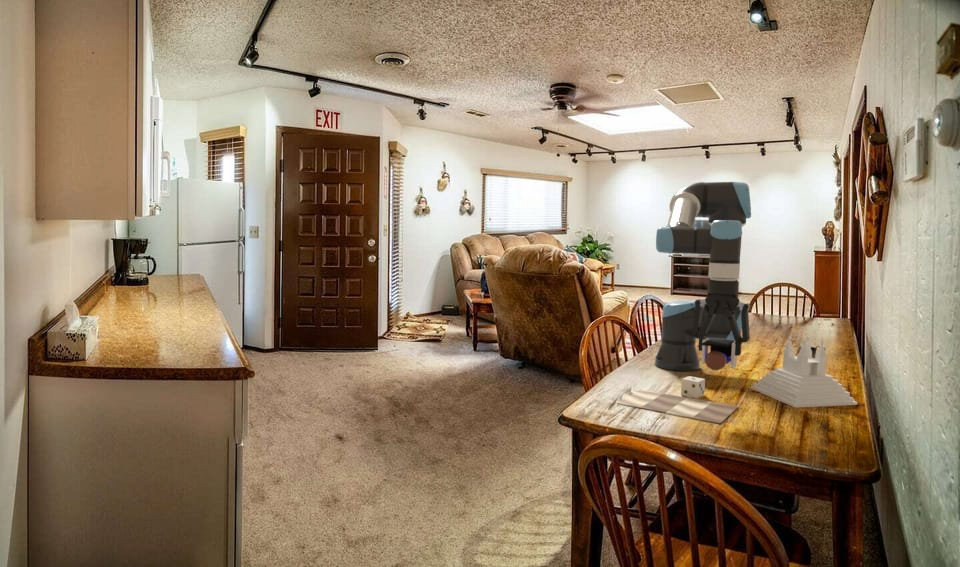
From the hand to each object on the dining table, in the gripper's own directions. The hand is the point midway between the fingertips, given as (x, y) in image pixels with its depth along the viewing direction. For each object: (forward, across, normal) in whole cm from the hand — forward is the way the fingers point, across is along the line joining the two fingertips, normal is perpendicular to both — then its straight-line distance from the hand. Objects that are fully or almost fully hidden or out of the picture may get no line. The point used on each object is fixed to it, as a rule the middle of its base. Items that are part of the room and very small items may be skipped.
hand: (718, 365), depth 165 cm
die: (+13, +10, -14) cm, 22 cm away
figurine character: (+1, 0, 0) cm, 1 cm away
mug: (+13, -14, -55) cm, 58 cm away
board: (+13, +10, 0) cm, 17 cm away
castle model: (+14, -16, -34) cm, 40 cm away
